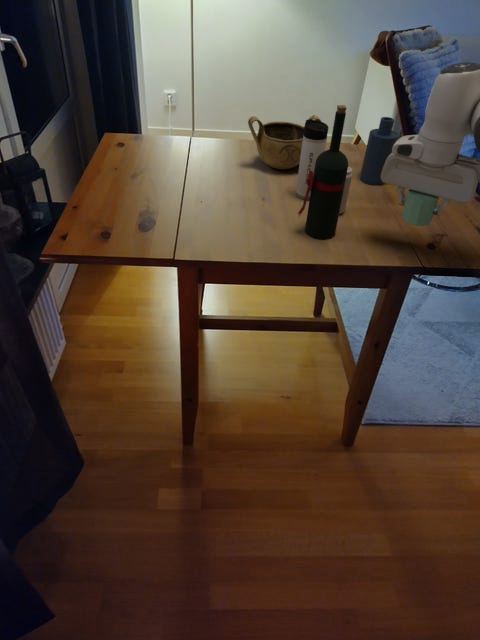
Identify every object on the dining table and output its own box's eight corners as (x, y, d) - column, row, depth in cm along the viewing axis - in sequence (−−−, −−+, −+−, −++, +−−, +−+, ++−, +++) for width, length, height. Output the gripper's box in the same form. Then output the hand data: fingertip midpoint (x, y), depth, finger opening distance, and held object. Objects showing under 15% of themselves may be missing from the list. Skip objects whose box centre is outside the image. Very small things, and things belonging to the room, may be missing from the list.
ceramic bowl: (253, 178, 138) (256, 127, 129) (240, 156, 151) (242, 108, 141) (322, 174, 143) (331, 124, 133) (304, 153, 155) (311, 106, 145)
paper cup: (434, 217, 109) (442, 191, 104) (426, 228, 104) (435, 202, 100) (406, 209, 111) (413, 183, 107) (397, 220, 107) (405, 194, 103)
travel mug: (306, 188, 135) (316, 117, 122) (322, 196, 131) (334, 124, 118) (290, 193, 132) (299, 121, 119) (305, 202, 128) (316, 128, 115)
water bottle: (389, 178, 142) (405, 118, 130) (380, 187, 137) (397, 125, 125) (365, 172, 145) (378, 112, 134) (355, 180, 140) (369, 119, 128)
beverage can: (321, 203, 128) (328, 161, 120) (344, 206, 127) (353, 164, 119) (320, 214, 123) (327, 171, 115) (344, 217, 123) (353, 174, 115)
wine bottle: (293, 223, 119) (309, 100, 99) (331, 223, 120) (355, 101, 100) (298, 239, 113) (316, 111, 93) (338, 239, 114) (365, 112, 94)
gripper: (491, 156, 95) (468, 216, 104) (395, 135, 103) (381, 193, 112) (486, 166, 91) (462, 227, 100) (386, 143, 99) (372, 202, 108)
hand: (418, 209), depth 106 cm, fingers closed on paper cup, 6 cm apart
